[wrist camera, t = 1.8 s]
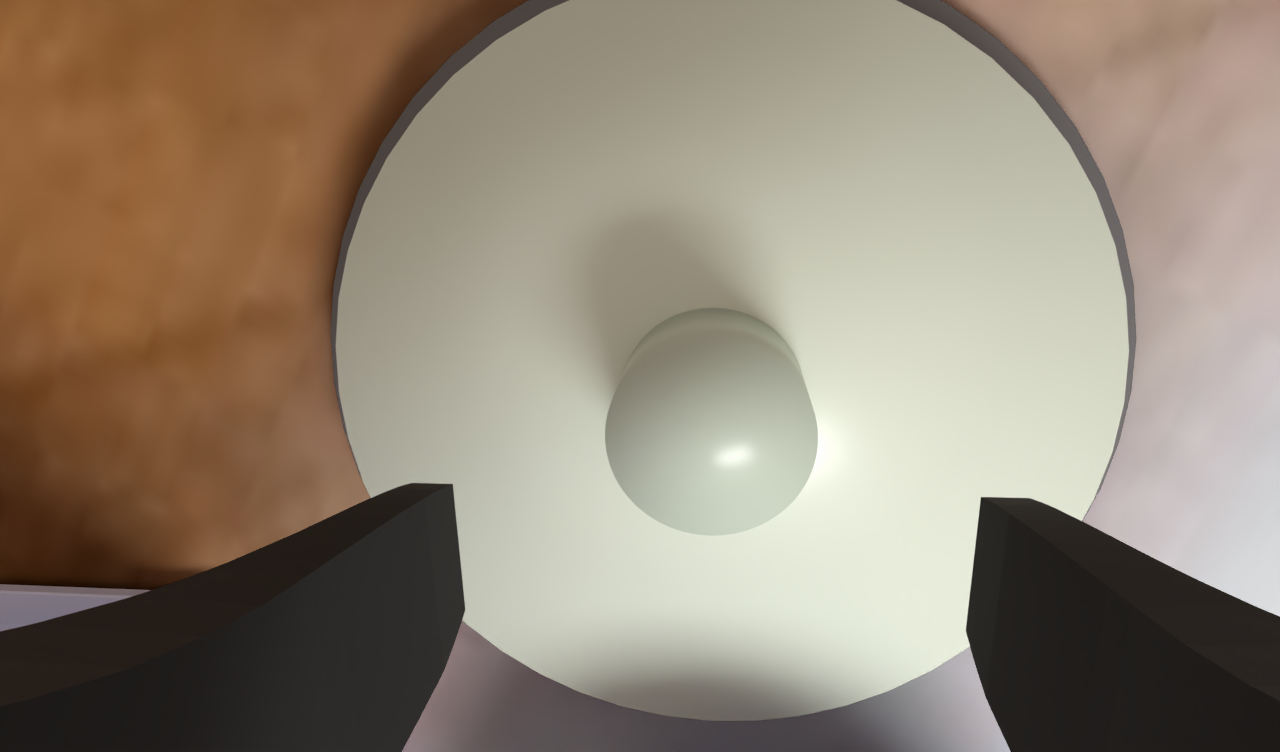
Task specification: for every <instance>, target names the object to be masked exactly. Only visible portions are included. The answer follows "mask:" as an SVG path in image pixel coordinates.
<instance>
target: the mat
mask: <svg viewBox="0 0 1280 752" xmlns="http://www.w3.org/2000/svg"><path fill="white" fill-rule="evenodd" d="M567 1H569V0H528V1H526V2H525V3H523V4H521V5H520V6H518V7H516V8H515V9H513V10H512V11H510V12H508V13H507V14H505V15H503V16H502V17H500V18H498V19H497V20H495V21H493V22H492V23H491V24H490V25H489V26H487V27H486V28H485V29H484V30H483V31H481V32H480V33H479V34H478V35H476V36H475V37H474V38H473V39H472V40H470V41H469V42H468V43H467V44H466V45H464V46H463V47H462V48H461V49H459V50H458V51H457V52H456V53H455V54H453V55H452V56H451V57H450V58H449V59H448V60H447V61H446V62H445V63H444V64H443V65H442V67H441V68H440V69H439V70H438V71H437V72H436V73H435V74H434V75H433V76H432V77H431V79H430V80H429V81H428V82H427V83H426V84H425V85H424V86H423V87H422V88H421V89H420V91H419V92H418V93H417V94H416V95H415V96H414V97H413V98H412V100H411V101H410V103H409V104H408V106H407V107H406V109H405V110H404V111H403V113H402V114H401V116H400V117H399V119H398V120H397V122H396V123H395V125H394V126H393V127H392V129H391V130H390V132H389V133H388V135H387V136H386V138H385V139H384V141H383V142H382V144H381V146H380V148H379V150H378V152H377V154H376V156H375V158H374V160H373V162H372V164H371V166H370V168H369V170H368V172H367V174H366V176H365V178H364V180H363V182H362V184H361V186H360V188H359V191H358V194H357V197H356V200H355V203H354V206H353V209H352V212H351V215H350V218H349V220H348V223H347V226H346V229H345V232H344V235H343V239H342V244H341V250H340V255H339V260H338V265H337V270H336V276H335V281H334V286H333V304H332V321H331V345H332V358H333V371H334V383H335V388H336V393H337V398H338V403H339V408H340V412H341V417H342V422H343V427H344V431H345V433H346V436H347V439H348V434H347V429H346V425H345V420H344V415H343V410H342V405H341V400H340V395H339V386H338V372H337V358H336V332H337V314H338V298H339V293H340V288H341V283H342V278H343V273H344V268H345V262H346V257H347V252H348V249H349V246H350V243H351V240H352V237H353V234H354V231H355V228H356V225H357V222H358V219H359V216H360V213H361V211H362V208H363V205H364V202H365V200H366V198H367V196H368V194H369V192H370V190H371V188H372V186H373V184H374V182H375V180H376V178H377V177H378V175H379V173H380V171H381V169H382V167H383V165H384V163H385V161H386V159H387V157H388V156H389V154H390V153H391V151H392V150H393V148H394V147H395V145H396V144H397V143H398V141H399V140H400V138H401V137H402V135H403V134H404V132H405V131H406V130H407V128H408V127H409V125H410V124H411V122H412V121H413V119H414V118H415V117H416V115H417V114H418V113H419V112H420V111H421V110H422V108H423V107H424V106H425V105H426V104H427V103H428V102H429V101H430V100H431V99H432V98H433V97H434V95H435V94H436V93H437V92H438V91H439V90H440V89H441V88H442V87H443V86H444V85H445V84H446V82H447V81H448V80H449V79H450V78H451V77H452V76H453V75H454V74H455V73H456V72H458V71H459V70H460V69H461V68H463V67H464V66H465V65H466V64H468V63H469V62H470V61H471V60H472V59H474V58H475V57H476V56H477V55H479V54H480V53H481V52H482V51H483V50H485V49H486V48H487V47H488V46H490V45H491V44H492V43H493V42H495V41H496V40H497V39H499V38H501V37H502V36H504V35H505V34H507V33H509V32H510V31H512V30H514V29H515V28H517V27H519V26H520V25H522V24H524V23H525V22H527V21H529V20H530V19H532V18H534V17H535V16H537V15H539V14H540V13H542V12H544V11H546V10H548V9H550V8H553V7H555V6H557V5H560V4H562V3H564V2H567ZM897 1H899V2H901V3H903V4H905V5H907V6H909V7H911V8H913V9H915V10H917V11H919V12H921V13H923V14H925V15H926V16H928V17H930V18H932V19H934V20H936V21H938V22H940V23H942V24H944V25H946V26H947V27H948V28H950V29H951V30H953V31H954V32H956V33H957V34H958V35H960V36H961V37H963V38H964V39H965V40H967V41H968V42H970V43H971V44H973V45H974V46H975V47H977V48H978V49H980V50H981V51H982V52H984V53H985V54H987V55H988V56H990V57H991V58H992V59H993V60H994V61H995V62H996V63H998V64H999V65H1000V66H1001V67H1002V68H1003V69H1004V70H1005V71H1006V72H1007V73H1008V74H1009V75H1010V76H1011V77H1012V78H1013V79H1014V80H1015V81H1016V82H1017V83H1018V84H1019V85H1020V86H1021V87H1023V88H1024V89H1025V90H1026V91H1027V92H1028V93H1029V94H1030V95H1031V96H1032V97H1033V98H1034V99H1035V100H1036V102H1037V103H1038V104H1039V106H1040V107H1041V108H1042V109H1043V111H1044V112H1045V113H1046V115H1047V116H1048V117H1049V119H1050V120H1051V121H1052V123H1053V124H1054V125H1055V126H1056V128H1057V129H1058V130H1059V132H1060V133H1061V134H1062V136H1063V137H1064V138H1065V139H1066V141H1067V142H1068V143H1069V145H1070V147H1071V148H1072V150H1073V152H1074V154H1075V156H1076V158H1077V159H1078V161H1079V163H1080V165H1081V167H1082V168H1083V170H1084V172H1085V174H1086V176H1087V177H1088V179H1089V181H1090V183H1091V185H1092V187H1093V188H1094V190H1095V192H1096V194H1097V197H1098V199H1099V202H1100V205H1101V208H1102V210H1103V213H1104V216H1105V218H1106V221H1107V224H1108V227H1109V229H1110V232H1111V235H1112V237H1113V240H1114V243H1115V246H1116V251H1117V256H1118V261H1119V266H1120V270H1121V275H1122V280H1123V285H1124V290H1125V295H1126V304H1127V322H1128V341H1129V357H1128V368H1127V379H1126V390H1125V400H1124V406H1123V410H1122V414H1121V418H1120V423H1119V427H1118V431H1117V435H1116V439H1115V444H1114V448H1113V452H1112V455H1111V457H1110V460H1109V462H1108V465H1107V467H1106V470H1105V473H1104V475H1103V478H1102V480H1101V483H1100V485H1099V488H1098V490H1097V493H1096V496H1097V494H1098V492H1099V491H1100V489H1101V486H1102V484H1103V481H1104V479H1105V476H1106V474H1107V471H1108V468H1109V466H1110V463H1111V461H1112V458H1113V456H1114V453H1115V451H1116V448H1117V446H1118V443H1119V440H1120V436H1121V432H1122V427H1123V423H1124V419H1125V415H1126V411H1127V407H1128V402H1129V398H1130V394H1131V389H1132V378H1133V368H1134V357H1135V346H1136V323H1135V303H1134V284H1133V279H1132V274H1131V269H1130V264H1129V259H1128V254H1127V249H1126V244H1125V239H1124V235H1123V230H1122V227H1121V224H1120V222H1119V219H1118V216H1117V213H1116V211H1115V208H1114V205H1113V202H1112V200H1111V197H1110V194H1109V191H1108V189H1107V186H1106V183H1105V180H1104V178H1103V176H1102V174H1101V172H1100V170H1099V168H1098V166H1097V165H1096V163H1095V161H1094V159H1093V157H1092V156H1091V154H1090V152H1089V150H1088V148H1087V146H1086V145H1085V143H1084V141H1083V139H1082V137H1081V135H1080V134H1079V132H1078V130H1077V128H1076V126H1075V125H1074V124H1073V123H1072V121H1071V120H1070V119H1069V117H1068V116H1067V115H1066V113H1065V112H1064V111H1063V109H1062V108H1061V107H1060V105H1059V104H1058V103H1057V102H1056V100H1055V99H1054V98H1053V96H1052V95H1051V94H1050V92H1049V91H1048V90H1047V88H1046V87H1045V86H1044V84H1043V83H1042V82H1041V81H1040V80H1039V79H1038V78H1037V77H1036V76H1035V75H1034V74H1033V73H1032V72H1031V71H1030V70H1029V69H1028V68H1027V67H1026V66H1025V65H1024V64H1023V63H1022V62H1021V61H1020V60H1019V59H1018V58H1017V57H1016V56H1015V55H1014V54H1012V53H1011V52H1010V51H1009V50H1008V49H1007V48H1006V47H1005V46H1004V45H1003V44H1002V43H1001V42H1000V41H999V40H998V39H997V38H995V37H994V36H992V35H991V34H990V33H988V32H987V31H985V30H984V29H983V28H981V27H980V26H978V25H977V24H976V23H974V22H973V21H971V20H970V19H968V18H967V17H966V16H964V15H963V14H961V13H960V12H959V11H957V10H956V9H954V8H953V7H952V6H950V5H949V4H947V3H945V2H943V1H941V0H897ZM348 442H349V439H348ZM349 445H350V442H349ZM350 448H351V445H350ZM351 451H352V448H351ZM352 454H353V451H352ZM353 457H354V454H353ZM354 460H355V463H356V466H357V469H358V471H359V468H358V465H357V462H356V459H355V457H354ZM359 474H360V471H359ZM360 476H361V474H360ZM361 478H362V477H361ZM1096 496H1095V498H1096ZM1095 498H1094V500H1095ZM1094 500H1093V501H1094ZM1092 503H1093V502H1092ZM1091 505H1092V504H1091ZM1091 505H1090V507H1091ZM1090 507H1089V509H1090ZM1089 509H1088V510H1089ZM1087 512H1088V511H1087ZM1086 514H1087V513H1086ZM1086 514H1085V516H1086ZM1085 516H1084V518H1085ZM1084 518H1083V519H1084ZM1082 521H1083V520H1082Z"/></svg>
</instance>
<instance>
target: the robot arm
mask: <svg viewBox="0 0 1280 752" xmlns="http://www.w3.org/2000/svg"><path fill="white" fill-rule="evenodd" d="M464 613H465V601H464V591H463V581H462V571H461V561H460V551H459V541H458V531H457V521H456V511H455V501H454V491H453V484H435V483H410V484H406V485H402V486H399V487H396V488H394V489H391V490H389V491H386V492H384V493H381V494H379V495H377V496H374V497H372V498H370V499H368V500H366V501H363V502H361V503H359V504H357V505H355V506H353V507H351V508H348V509H346V510H344V511H342V512H340V513H338V514H336V515H333V516H331V517H329V518H327V519H325V520H323V521H321V522H319V523H316V524H314V525H312V526H310V527H308V528H306V529H304V530H302V531H299V532H297V533H295V534H293V535H290V536H288V537H286V538H283V539H281V540H279V541H277V542H274V543H272V544H270V545H267V546H265V547H263V548H260V549H258V550H256V551H253V552H251V553H249V554H246V555H244V556H242V557H239V558H237V559H235V560H232V561H230V562H228V563H225V564H223V565H220V566H218V567H215V568H213V569H210V570H207V571H205V572H202V573H199V574H197V575H194V576H191V577H188V578H186V579H183V580H180V581H177V582H174V583H171V584H168V585H165V586H162V587H159V588H156V589H153V590H136V589H110V588H84V587H59V586H33V585H7V584H0V752H402V750H403V748H404V746H405V744H406V742H407V740H408V738H409V737H410V735H411V733H412V731H413V729H414V727H415V725H416V724H417V722H418V720H419V718H420V716H421V714H422V712H423V710H424V708H425V706H426V704H427V703H428V701H429V699H430V697H431V695H432V693H433V691H434V689H435V687H436V685H437V683H438V681H439V679H440V677H441V675H442V673H443V671H444V669H445V666H446V664H447V661H448V658H449V656H450V653H451V650H452V648H453V645H454V642H455V639H456V636H457V633H458V630H459V627H460V624H461V621H462V619H463V616H464ZM966 634H967V637H968V641H969V644H970V647H971V651H972V654H973V658H974V661H975V665H976V668H977V671H978V674H979V677H980V680H981V683H982V687H983V690H984V693H985V696H986V699H987V701H988V703H989V705H990V707H991V710H992V712H993V714H994V716H995V718H996V721H997V723H998V725H999V727H1000V729H1001V731H1002V733H1003V736H1004V738H1005V740H1006V742H1007V744H1008V746H1009V749H1010V751H1011V752H1280V617H1279V616H1277V615H1274V614H1272V613H1269V612H1267V611H1265V610H1262V609H1260V608H1258V607H1255V606H1253V605H1251V604H1249V603H1246V602H1244V601H1242V600H1240V599H1238V598H1236V597H1233V596H1231V595H1229V594H1227V593H1225V592H1222V591H1220V590H1218V589H1216V588H1214V587H1212V586H1209V585H1207V584H1205V583H1203V582H1201V581H1198V580H1196V579H1194V578H1192V577H1190V576H1188V575H1186V574H1184V573H1182V572H1180V571H1178V570H1176V569H1174V568H1172V567H1170V566H1168V565H1166V564H1164V563H1162V562H1160V561H1158V560H1156V559H1154V558H1152V557H1150V556H1148V555H1146V554H1144V553H1142V552H1140V551H1138V550H1136V549H1134V548H1132V547H1130V546H1129V545H1127V544H1125V543H1123V542H1121V541H1119V540H1117V539H1115V538H1113V537H1111V536H1109V535H1107V534H1105V533H1103V532H1102V531H1100V530H1098V529H1096V528H1094V527H1092V526H1090V525H1088V524H1086V523H1084V522H1082V521H1080V520H1078V519H1076V518H1074V517H1072V516H1070V515H1068V514H1066V513H1064V512H1062V511H1060V510H1058V509H1056V508H1054V507H1051V506H1049V505H1047V504H1044V503H1042V502H1039V501H1036V500H1034V499H1031V498H1004V497H981V501H980V509H979V518H978V527H977V536H976V545H975V553H974V562H973V571H972V580H971V588H970V597H969V606H968V615H967V623H966Z"/></svg>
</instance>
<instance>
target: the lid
mask: <svg viewBox="0 0 1280 752" xmlns="http://www.w3.org/2000/svg"><path fill="white" fill-rule="evenodd" d="M1128 357H1129V341H1128V322H1127V304H1126V295H1125V290H1124V285H1123V280H1122V275H1121V270H1120V266H1119V261H1118V256H1117V251H1116V246H1115V243H1114V240H1113V237H1112V235H1111V232H1110V229H1109V227H1108V224H1107V221H1106V218H1105V216H1104V213H1103V210H1102V208H1101V205H1100V202H1099V199H1098V197H1097V194H1096V192H1095V190H1094V188H1093V187H1092V185H1091V183H1090V181H1089V179H1088V177H1087V176H1086V174H1085V172H1084V170H1083V168H1082V167H1081V165H1080V163H1079V161H1078V159H1077V158H1076V156H1075V154H1074V152H1073V150H1072V148H1071V147H1070V145H1069V143H1068V142H1067V141H1066V139H1065V138H1064V137H1063V136H1062V134H1061V133H1060V132H1059V130H1058V129H1057V128H1056V126H1055V125H1054V124H1053V123H1052V121H1051V120H1050V119H1049V117H1048V116H1047V115H1046V113H1045V112H1044V111H1043V109H1042V108H1041V107H1040V106H1039V104H1038V103H1037V102H1036V100H1035V99H1034V98H1033V97H1032V96H1031V95H1030V94H1029V93H1028V92H1027V91H1026V90H1025V89H1024V88H1023V87H1021V86H1020V85H1019V84H1018V83H1017V82H1016V81H1015V80H1014V79H1013V78H1012V77H1011V76H1010V75H1009V74H1008V73H1007V72H1006V71H1005V70H1004V69H1003V68H1002V67H1001V66H1000V65H999V64H998V63H996V62H995V61H994V60H993V59H992V58H991V57H990V56H988V55H987V54H985V53H984V52H982V51H981V50H980V49H978V48H977V47H975V46H974V45H973V44H971V43H970V42H968V41H967V40H965V39H964V38H963V37H961V36H960V35H958V34H957V33H956V32H954V31H953V30H951V29H950V28H948V27H947V26H946V25H944V24H942V23H940V22H938V21H936V20H934V19H932V18H930V17H928V16H926V15H925V14H923V13H921V12H919V11H917V10H915V9H913V8H911V7H909V6H907V5H905V4H903V3H901V2H899V1H897V0H569V1H567V2H564V3H562V4H560V5H557V6H555V7H553V8H550V9H548V10H546V11H544V12H542V13H540V14H539V15H537V16H535V17H534V18H532V19H530V20H529V21H527V22H525V23H524V24H522V25H520V26H519V27H517V28H515V29H514V30H512V31H510V32H509V33H507V34H505V35H504V36H502V37H501V38H499V39H497V40H496V41H495V42H493V43H492V44H491V45H490V46H488V47H487V48H486V49H485V50H483V51H482V52H481V53H480V54H479V55H477V56H476V57H475V58H474V59H472V60H471V61H470V62H469V63H468V64H466V65H465V66H464V67H463V68H461V69H460V70H459V71H458V72H456V73H455V74H454V75H453V76H452V77H451V78H450V79H449V80H448V81H447V82H446V84H445V85H444V86H443V87H442V88H441V89H440V90H439V91H438V92H437V93H436V94H435V95H434V97H433V98H432V99H431V100H430V101H429V102H428V103H427V104H426V105H425V106H424V107H423V108H422V110H421V111H420V112H419V113H418V114H417V115H416V117H415V118H414V119H413V121H412V122H411V124H410V125H409V127H408V128H407V130H406V131H405V132H404V134H403V135H402V137H401V138H400V140H399V141H398V143H397V144H396V145H395V147H394V148H393V150H392V151H391V153H390V154H389V156H388V157H387V159H386V161H385V163H384V165H383V167H382V169H381V171H380V173H379V175H378V177H377V178H376V180H375V182H374V184H373V186H372V188H371V190H370V192H369V194H368V196H367V198H366V200H365V202H364V205H363V208H362V211H361V213H360V216H359V219H358V222H357V225H356V228H355V231H354V234H353V237H352V240H351V243H350V246H349V249H348V252H347V257H346V262H345V268H344V273H343V278H342V283H341V288H340V293H339V298H338V314H337V332H336V358H337V372H338V386H339V395H340V400H341V405H342V410H343V415H344V420H345V425H346V429H347V434H348V439H349V442H350V445H351V448H352V451H353V454H354V457H355V459H356V462H357V465H358V468H359V471H360V474H361V477H362V480H363V483H364V485H365V487H366V489H367V491H368V493H369V495H370V497H371V498H372V497H374V496H377V495H379V494H381V493H384V492H386V491H389V490H391V489H394V488H396V487H399V486H402V485H406V484H410V483H435V484H453V491H454V501H455V511H456V521H457V531H458V541H459V551H460V561H461V571H462V581H463V591H464V601H465V613H464V616H463V619H462V620H463V621H464V622H465V623H466V624H467V625H468V626H470V627H471V628H472V629H474V630H475V631H476V632H478V633H479V634H480V635H481V636H483V637H484V638H485V639H487V640H488V641H489V642H491V643H492V644H493V645H495V646H496V647H497V648H499V649H500V650H501V651H502V652H504V653H506V654H507V655H509V656H511V657H512V658H514V659H516V660H517V661H519V662H521V663H522V664H524V665H526V666H527V667H529V668H531V669H533V670H534V671H536V672H538V673H539V674H541V675H543V676H545V677H548V678H550V679H552V680H554V681H556V682H558V683H561V684H563V685H565V686H567V687H569V688H571V689H574V690H576V691H578V692H580V693H583V694H586V695H589V696H592V697H595V698H598V699H601V700H604V701H607V702H610V703H613V704H616V705H619V706H622V707H626V708H631V709H636V710H640V711H645V712H649V713H654V714H659V715H663V716H670V717H679V718H688V719H698V720H707V721H759V720H768V719H777V718H786V717H795V716H802V715H807V714H811V713H816V712H820V711H825V710H829V709H834V708H838V707H843V706H846V705H849V704H852V703H855V702H858V701H861V700H864V699H867V698H870V697H873V696H876V695H878V694H881V693H884V692H887V691H890V690H892V689H894V688H896V687H898V686H900V685H902V684H904V683H906V682H909V681H911V680H913V679H915V678H917V677H919V676H921V675H923V674H925V673H927V672H930V671H931V670H933V669H935V668H936V667H938V666H939V665H941V664H943V663H944V662H946V661H947V660H949V659H951V658H952V657H954V656H955V655H957V654H958V653H960V652H962V651H963V650H965V649H966V648H968V647H970V644H969V641H968V637H967V634H966V623H967V615H968V606H969V597H970V588H971V580H972V571H973V562H974V553H975V545H976V536H977V527H978V518H979V509H980V501H981V497H1004V498H1031V499H1034V500H1036V501H1039V502H1042V503H1044V504H1047V505H1049V506H1051V507H1054V508H1056V509H1058V510H1060V511H1062V512H1064V513H1066V514H1068V515H1070V516H1072V517H1074V518H1076V519H1078V520H1080V521H1082V520H1083V518H1084V516H1085V514H1086V513H1087V511H1088V509H1089V507H1090V505H1091V504H1092V502H1093V500H1094V498H1095V496H1096V493H1097V490H1098V488H1099V485H1100V483H1101V480H1102V478H1103V475H1104V473H1105V470H1106V467H1107V465H1108V462H1109V460H1110V457H1111V455H1112V452H1113V448H1114V444H1115V439H1116V435H1117V431H1118V427H1119V423H1120V418H1121V414H1122V410H1123V406H1124V400H1125V390H1126V379H1127V368H1128Z"/></svg>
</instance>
